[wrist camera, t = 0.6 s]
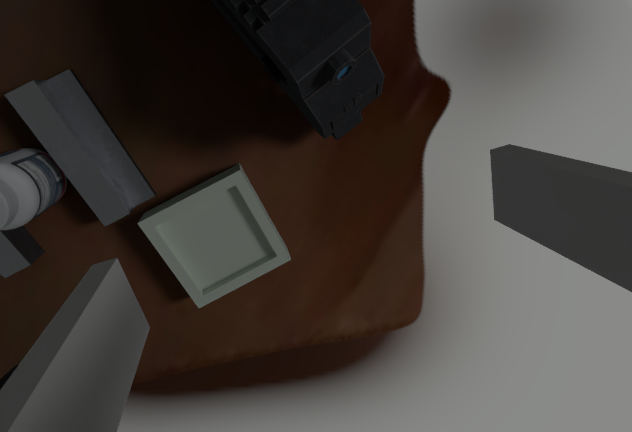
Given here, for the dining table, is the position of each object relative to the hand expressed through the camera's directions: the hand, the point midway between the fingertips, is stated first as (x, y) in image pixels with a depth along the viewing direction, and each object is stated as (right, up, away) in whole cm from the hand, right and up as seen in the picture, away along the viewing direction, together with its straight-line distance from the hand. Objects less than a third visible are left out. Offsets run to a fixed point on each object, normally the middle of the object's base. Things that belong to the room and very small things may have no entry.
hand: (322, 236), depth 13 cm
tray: (-10, -1, +25) cm, 27 cm away
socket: (-25, +4, +20) cm, 32 cm away
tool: (-4, +17, +21) cm, 27 cm away
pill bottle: (-25, +4, +21) cm, 32 cm away
